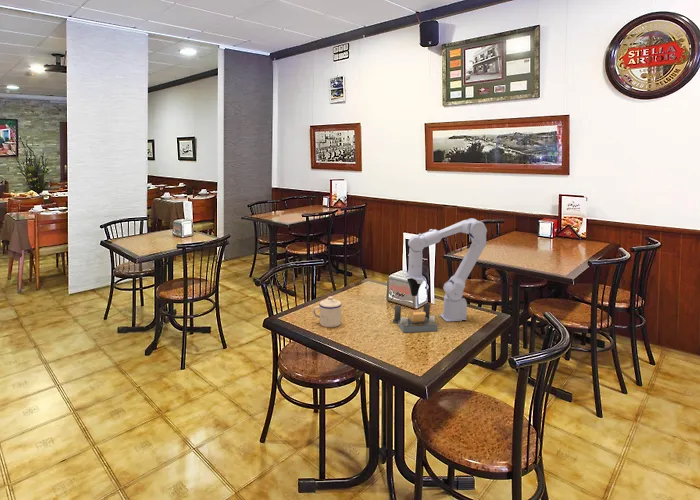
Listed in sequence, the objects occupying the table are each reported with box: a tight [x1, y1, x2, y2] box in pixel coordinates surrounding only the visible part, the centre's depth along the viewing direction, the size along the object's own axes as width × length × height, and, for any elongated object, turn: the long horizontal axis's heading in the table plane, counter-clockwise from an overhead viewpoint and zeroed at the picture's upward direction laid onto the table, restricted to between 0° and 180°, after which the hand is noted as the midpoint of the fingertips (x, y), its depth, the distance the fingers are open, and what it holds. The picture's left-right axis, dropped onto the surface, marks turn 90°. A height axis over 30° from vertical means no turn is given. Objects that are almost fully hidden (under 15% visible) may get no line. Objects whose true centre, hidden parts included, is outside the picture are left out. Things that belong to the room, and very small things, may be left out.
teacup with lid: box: [312, 296, 342, 328], centre depth 185 cm, size 12×9×12 cm
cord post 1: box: [392, 304, 402, 325], centre depth 188 cm, size 4×4×7 cm
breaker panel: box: [397, 315, 438, 334], centre depth 181 cm, size 14×8×5 cm, turn 98°
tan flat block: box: [410, 311, 426, 322], centre depth 180 cm, size 6×1×5 cm
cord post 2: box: [422, 303, 431, 318], centre depth 190 cm, size 4×4×7 cm
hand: (414, 295), depth 190 cm, fingers closed
